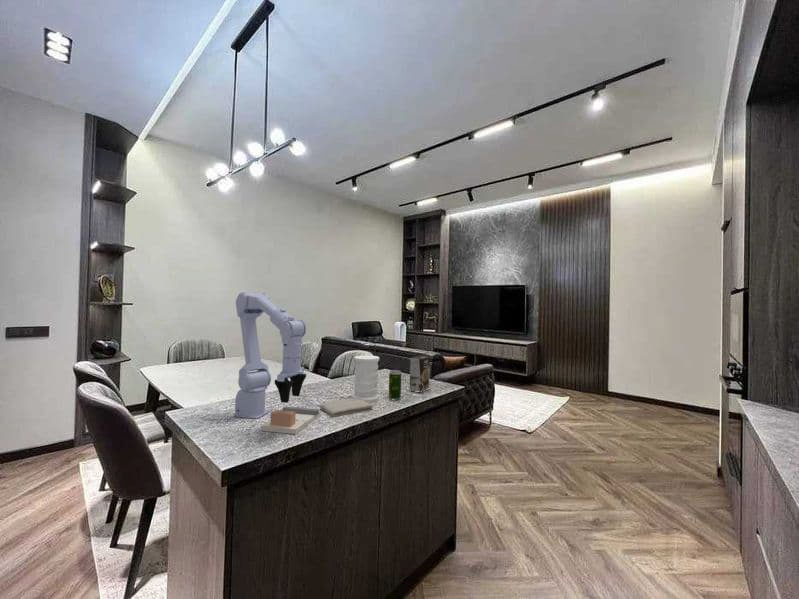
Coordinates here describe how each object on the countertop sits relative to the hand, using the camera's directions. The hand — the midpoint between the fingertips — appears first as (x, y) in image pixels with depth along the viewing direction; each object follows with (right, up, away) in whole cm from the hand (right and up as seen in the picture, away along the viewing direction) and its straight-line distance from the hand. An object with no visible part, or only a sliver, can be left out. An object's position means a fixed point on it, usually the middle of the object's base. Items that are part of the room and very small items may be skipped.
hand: (290, 398), depth 111 cm
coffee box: (+45, -12, +54) cm, 71 cm away
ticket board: (0, -10, +9) cm, 13 cm away
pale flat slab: (-2, -9, -1) cm, 10 cm away
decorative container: (+21, -11, +37) cm, 43 cm away
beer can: (+33, -11, +38) cm, 52 cm away
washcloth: (+15, -11, +21) cm, 28 cm away
